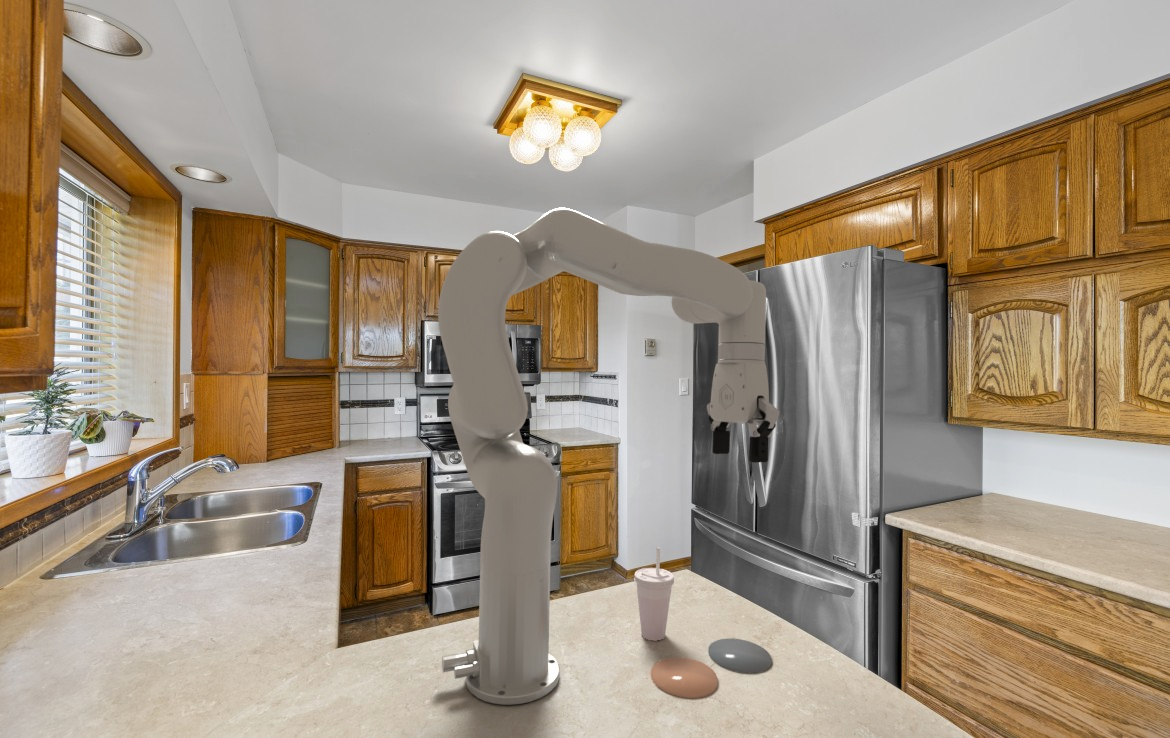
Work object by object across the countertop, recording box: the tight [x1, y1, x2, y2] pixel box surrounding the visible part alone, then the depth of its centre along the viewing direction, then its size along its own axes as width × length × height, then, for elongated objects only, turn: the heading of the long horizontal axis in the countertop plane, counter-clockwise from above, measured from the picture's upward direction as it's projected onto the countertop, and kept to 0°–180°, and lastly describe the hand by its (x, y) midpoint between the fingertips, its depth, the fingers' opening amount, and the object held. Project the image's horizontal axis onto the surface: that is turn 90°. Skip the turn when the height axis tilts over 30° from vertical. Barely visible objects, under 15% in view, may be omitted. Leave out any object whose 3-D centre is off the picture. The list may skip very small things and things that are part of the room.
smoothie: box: [633, 546, 675, 642], centre depth 84 cm, size 6×6×14 cm
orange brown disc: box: [650, 656, 719, 699], centre depth 72 cm, size 9×9×1 cm
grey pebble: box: [707, 638, 772, 674], centre depth 78 cm, size 9×9×1 cm
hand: (738, 457), depth 87 cm, fingers open, 9 cm apart
